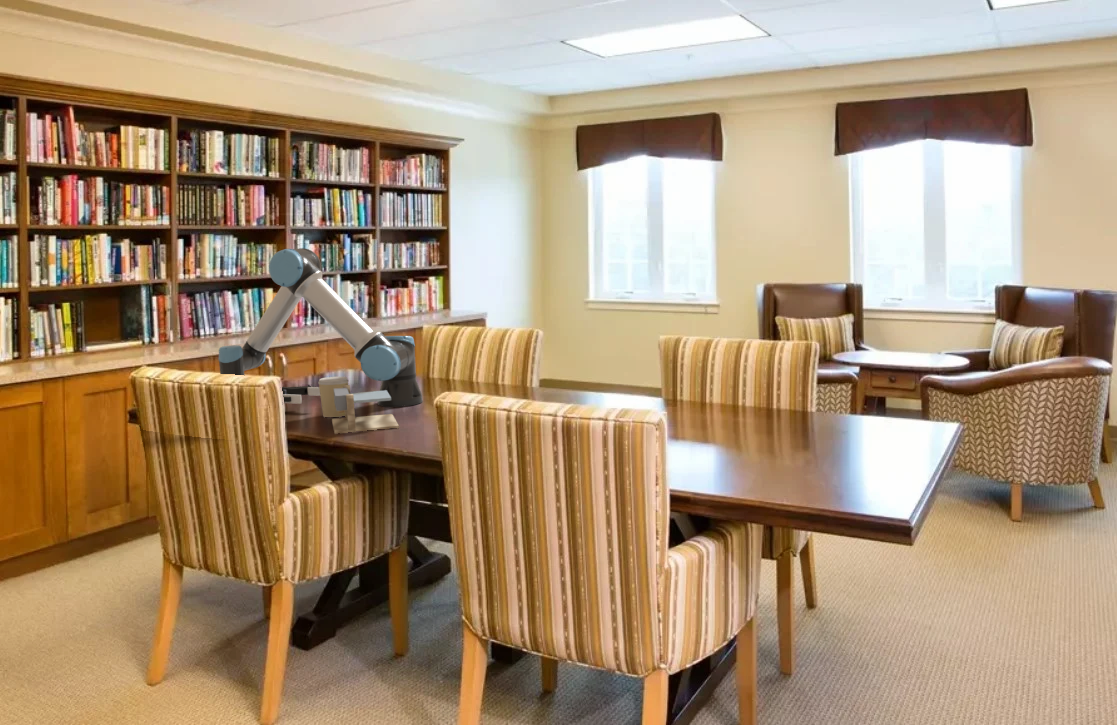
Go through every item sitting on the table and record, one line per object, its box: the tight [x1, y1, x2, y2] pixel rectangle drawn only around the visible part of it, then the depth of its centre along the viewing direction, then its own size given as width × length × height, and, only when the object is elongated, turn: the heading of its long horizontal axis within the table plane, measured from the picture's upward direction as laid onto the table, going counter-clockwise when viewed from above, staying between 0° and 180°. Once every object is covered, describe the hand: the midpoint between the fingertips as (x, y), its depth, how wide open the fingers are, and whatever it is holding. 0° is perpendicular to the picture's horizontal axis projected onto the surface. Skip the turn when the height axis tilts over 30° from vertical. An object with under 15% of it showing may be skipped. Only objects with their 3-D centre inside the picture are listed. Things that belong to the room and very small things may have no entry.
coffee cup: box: [317, 376, 349, 418], centre depth 292 cm, size 9×9×12 cm
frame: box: [331, 384, 400, 435], centre depth 276 cm, size 18×19×11 cm
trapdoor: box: [334, 388, 391, 411], centre depth 275 cm, size 16×14×4 cm
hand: (313, 395), depth 294 cm, fingers open, 13 cm apart
